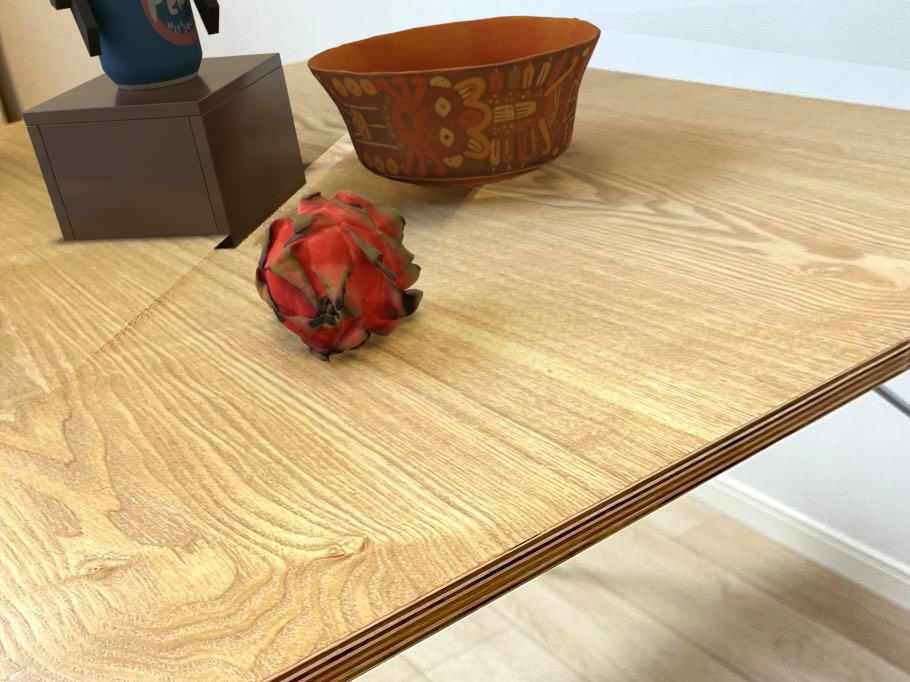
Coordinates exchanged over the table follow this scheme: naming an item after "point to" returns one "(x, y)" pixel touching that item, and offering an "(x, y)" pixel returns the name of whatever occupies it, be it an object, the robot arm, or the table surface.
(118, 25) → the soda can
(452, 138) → the bowl
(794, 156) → the table surface
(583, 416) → the table surface
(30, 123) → the cabinet
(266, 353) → the table surface
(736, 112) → the table surface
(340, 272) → the dragon fruit
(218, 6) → the robot arm
